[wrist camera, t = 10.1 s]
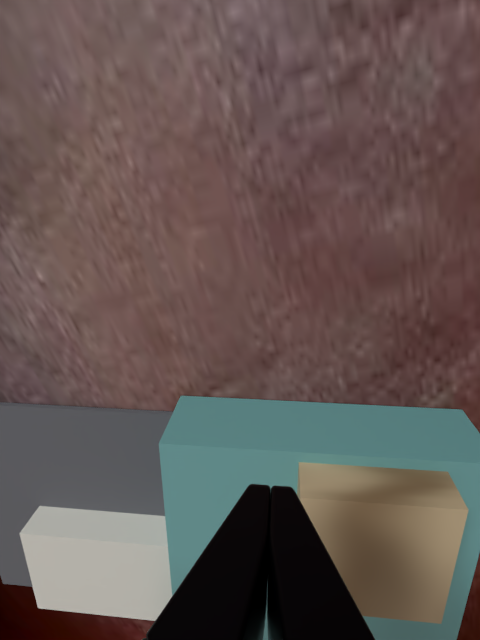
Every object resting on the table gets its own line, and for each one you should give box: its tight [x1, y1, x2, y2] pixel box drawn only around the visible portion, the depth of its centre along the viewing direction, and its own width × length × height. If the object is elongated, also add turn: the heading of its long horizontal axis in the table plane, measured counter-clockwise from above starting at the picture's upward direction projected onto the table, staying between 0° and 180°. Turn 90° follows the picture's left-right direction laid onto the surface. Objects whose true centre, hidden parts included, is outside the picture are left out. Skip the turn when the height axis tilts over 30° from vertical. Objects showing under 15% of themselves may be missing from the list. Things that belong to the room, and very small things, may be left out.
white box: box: [19, 506, 172, 621], centre depth 24 cm, size 9×6×2 cm, turn 90°
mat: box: [0, 402, 173, 587], centre depth 25 cm, size 13×14×1 cm
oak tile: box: [297, 462, 468, 624], centre depth 17 cm, size 6×6×2 cm
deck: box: [159, 396, 480, 640], centre depth 21 cm, size 14×16×4 cm
